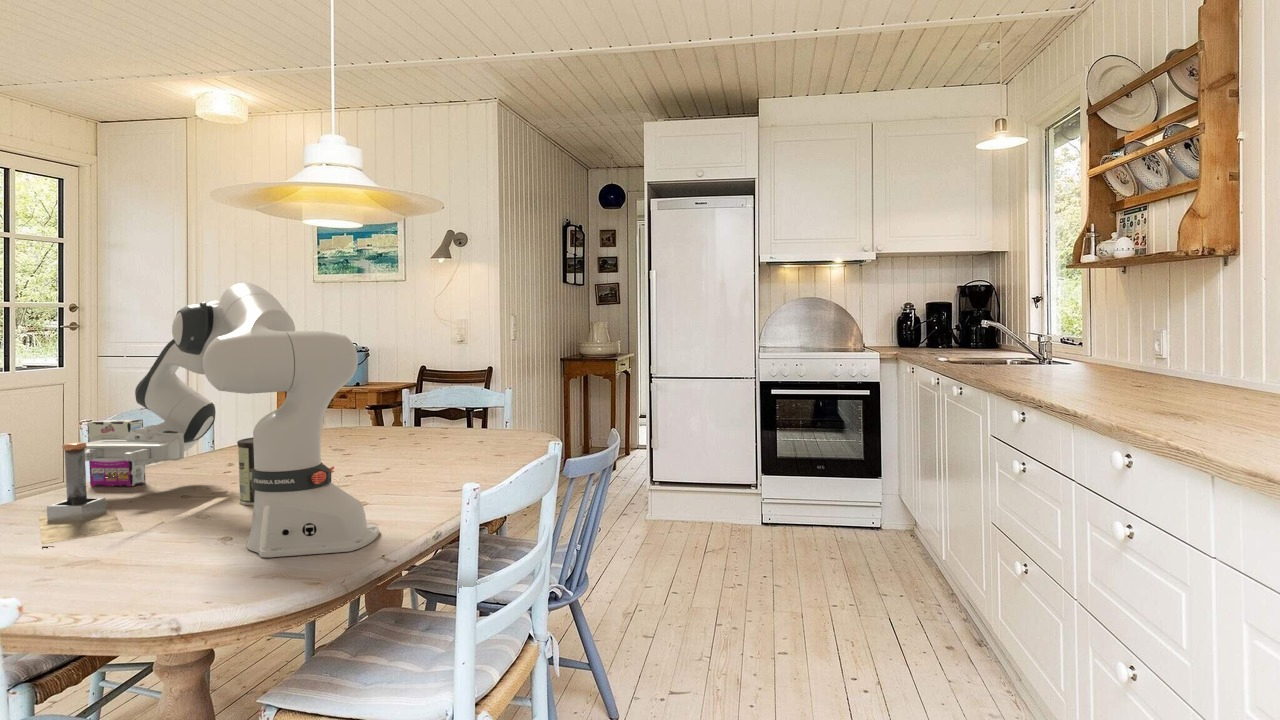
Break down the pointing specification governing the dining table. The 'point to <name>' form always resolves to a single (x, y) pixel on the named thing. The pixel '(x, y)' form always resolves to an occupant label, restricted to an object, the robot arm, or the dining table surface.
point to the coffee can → (246, 470)
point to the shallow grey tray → (76, 510)
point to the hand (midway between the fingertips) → (105, 457)
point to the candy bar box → (121, 469)
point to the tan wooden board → (79, 527)
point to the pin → (75, 473)
